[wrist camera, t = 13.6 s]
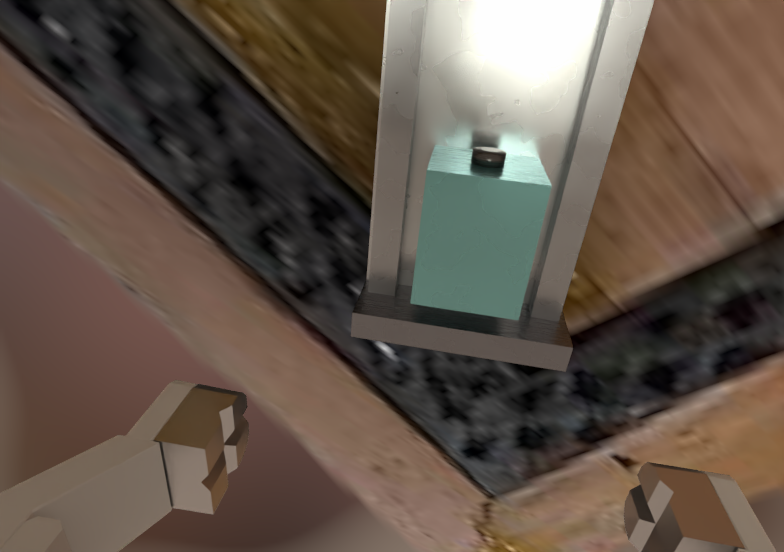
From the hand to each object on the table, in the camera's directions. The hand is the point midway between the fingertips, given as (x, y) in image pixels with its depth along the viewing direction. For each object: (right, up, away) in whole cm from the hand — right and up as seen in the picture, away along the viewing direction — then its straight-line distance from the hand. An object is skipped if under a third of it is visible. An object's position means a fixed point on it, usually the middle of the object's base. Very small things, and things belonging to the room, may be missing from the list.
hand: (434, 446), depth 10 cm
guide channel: (+4, +11, +18) cm, 21 cm away
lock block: (+4, +7, +18) cm, 19 cm away
